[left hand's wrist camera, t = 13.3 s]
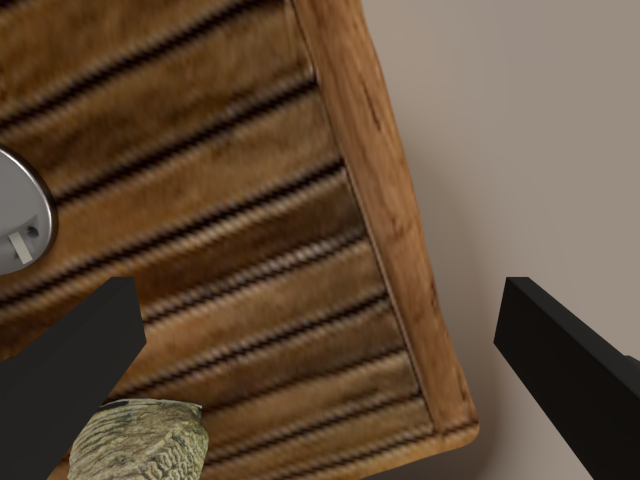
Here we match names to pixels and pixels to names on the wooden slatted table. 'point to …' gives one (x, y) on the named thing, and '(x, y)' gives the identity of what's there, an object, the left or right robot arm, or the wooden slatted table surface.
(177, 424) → the fossil
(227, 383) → the wooden slatted table surface
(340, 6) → the wooden slatted table surface
